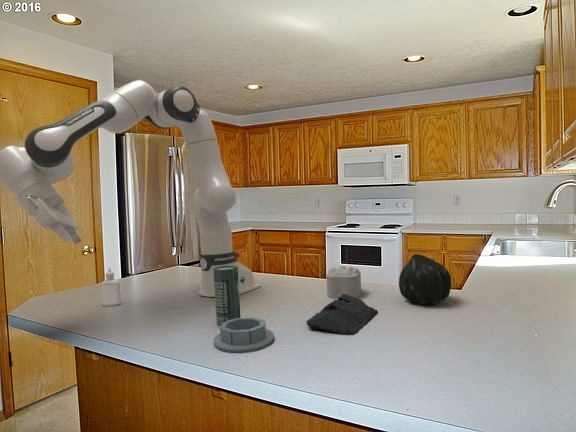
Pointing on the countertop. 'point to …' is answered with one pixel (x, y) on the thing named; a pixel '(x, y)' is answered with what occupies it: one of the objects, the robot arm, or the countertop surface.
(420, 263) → the squash
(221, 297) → the can
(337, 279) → the lumpy-topped squat cylinder
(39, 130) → the robot arm
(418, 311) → the countertop surface
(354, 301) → the dark slate chunk
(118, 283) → the eye dropper bottle
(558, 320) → the countertop surface
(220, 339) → the collar seat
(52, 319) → the countertop surface
